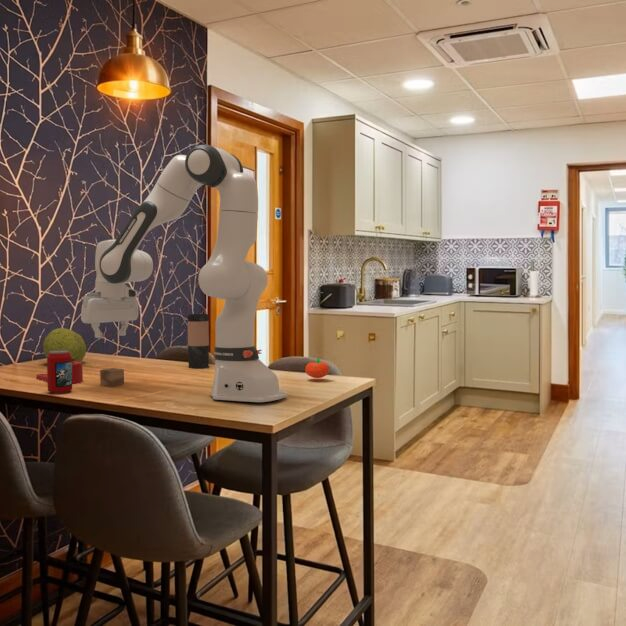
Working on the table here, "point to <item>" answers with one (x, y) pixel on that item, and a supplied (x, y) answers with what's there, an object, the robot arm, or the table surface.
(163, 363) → the table surface
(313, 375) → the red tomato
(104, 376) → the walnut cube
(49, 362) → the beverage can
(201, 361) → the travel mug
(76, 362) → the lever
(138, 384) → the table surface
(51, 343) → the fruit
